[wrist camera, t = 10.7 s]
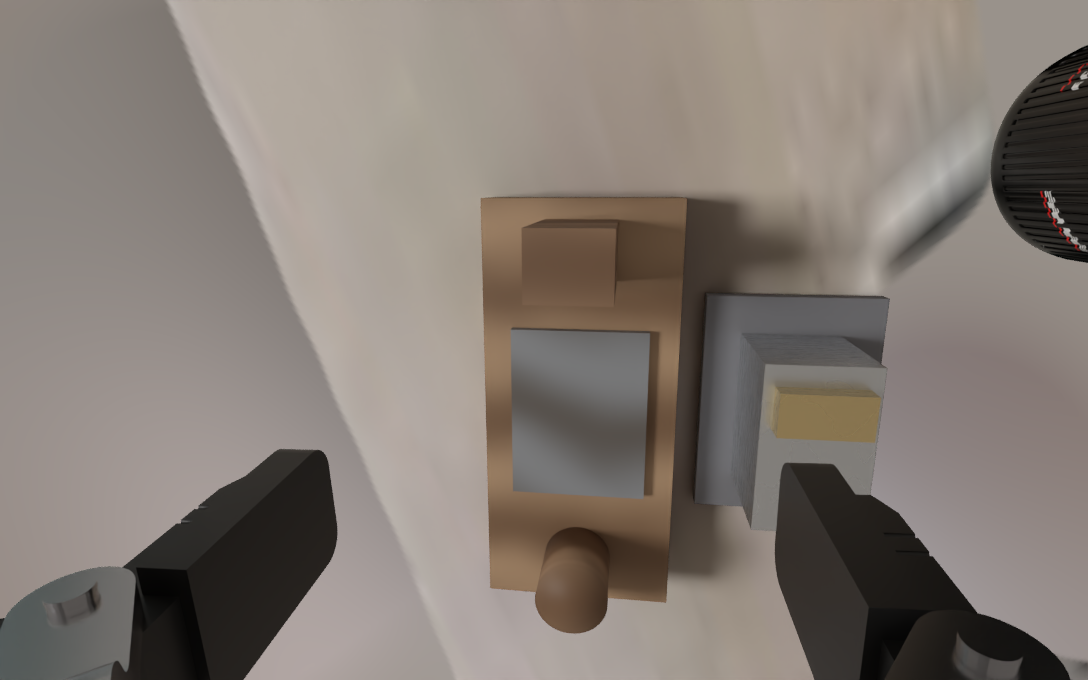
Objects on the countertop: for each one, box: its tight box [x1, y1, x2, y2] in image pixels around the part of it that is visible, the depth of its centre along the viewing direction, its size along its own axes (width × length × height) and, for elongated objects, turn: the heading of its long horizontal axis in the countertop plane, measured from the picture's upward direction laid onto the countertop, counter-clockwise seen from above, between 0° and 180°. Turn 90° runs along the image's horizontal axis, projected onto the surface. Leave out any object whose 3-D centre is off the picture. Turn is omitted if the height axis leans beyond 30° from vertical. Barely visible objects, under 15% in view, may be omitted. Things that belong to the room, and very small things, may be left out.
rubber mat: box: [693, 293, 890, 506], centre depth 34 cm, size 12×9×1 cm
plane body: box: [481, 197, 687, 633], centre depth 31 cm, size 22×10×10 cm, turn 0°
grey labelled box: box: [730, 333, 887, 531], centre depth 30 cm, size 8×5×7 cm, turn 0°
